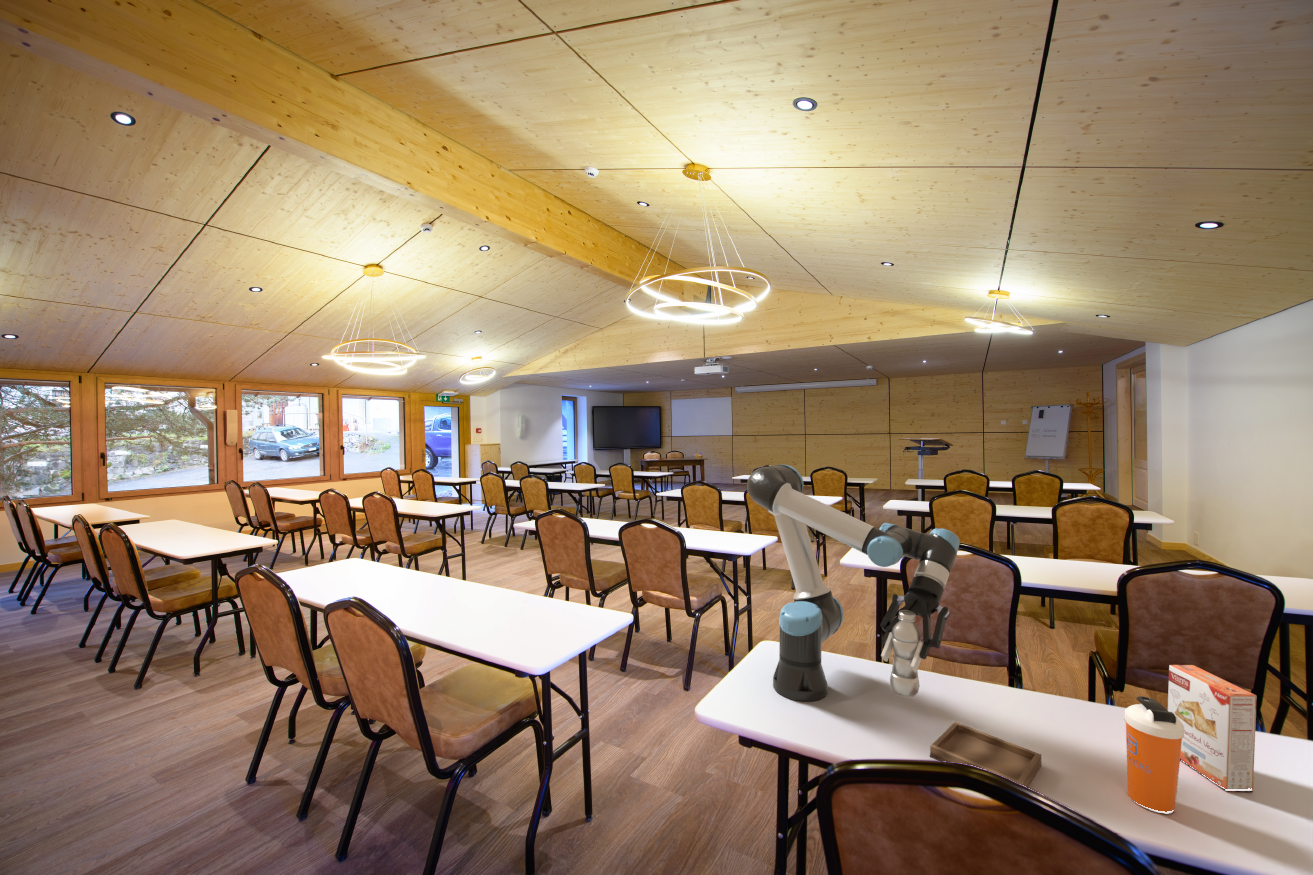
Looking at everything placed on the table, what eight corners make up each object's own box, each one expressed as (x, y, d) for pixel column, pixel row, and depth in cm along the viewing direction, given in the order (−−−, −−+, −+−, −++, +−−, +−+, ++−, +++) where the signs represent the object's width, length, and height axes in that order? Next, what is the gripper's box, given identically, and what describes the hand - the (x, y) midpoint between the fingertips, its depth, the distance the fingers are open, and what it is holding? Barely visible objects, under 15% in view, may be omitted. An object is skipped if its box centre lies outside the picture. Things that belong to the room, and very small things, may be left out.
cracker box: (1164, 751, 128) (1167, 663, 127) (1190, 752, 127) (1194, 663, 127) (1224, 792, 114) (1228, 693, 113) (1254, 793, 113) (1258, 694, 113)
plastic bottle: (907, 702, 130) (910, 619, 129) (883, 689, 136) (886, 610, 135) (925, 696, 133) (928, 615, 132) (901, 683, 139) (904, 606, 138)
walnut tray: (930, 756, 126) (930, 745, 125) (954, 731, 136) (954, 721, 136) (1021, 796, 112) (1022, 784, 112) (1041, 765, 122) (1041, 754, 122)
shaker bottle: (1156, 788, 115) (1160, 694, 114) (1194, 819, 106) (1198, 718, 105) (1110, 785, 116) (1113, 692, 115) (1144, 816, 107) (1147, 715, 106)
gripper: (973, 600, 136) (945, 686, 126) (895, 581, 151) (865, 657, 140) (966, 583, 133) (937, 670, 122) (887, 566, 147) (855, 642, 137)
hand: (898, 663), depth 131 cm, fingers closed on plastic bottle, 6 cm apart
